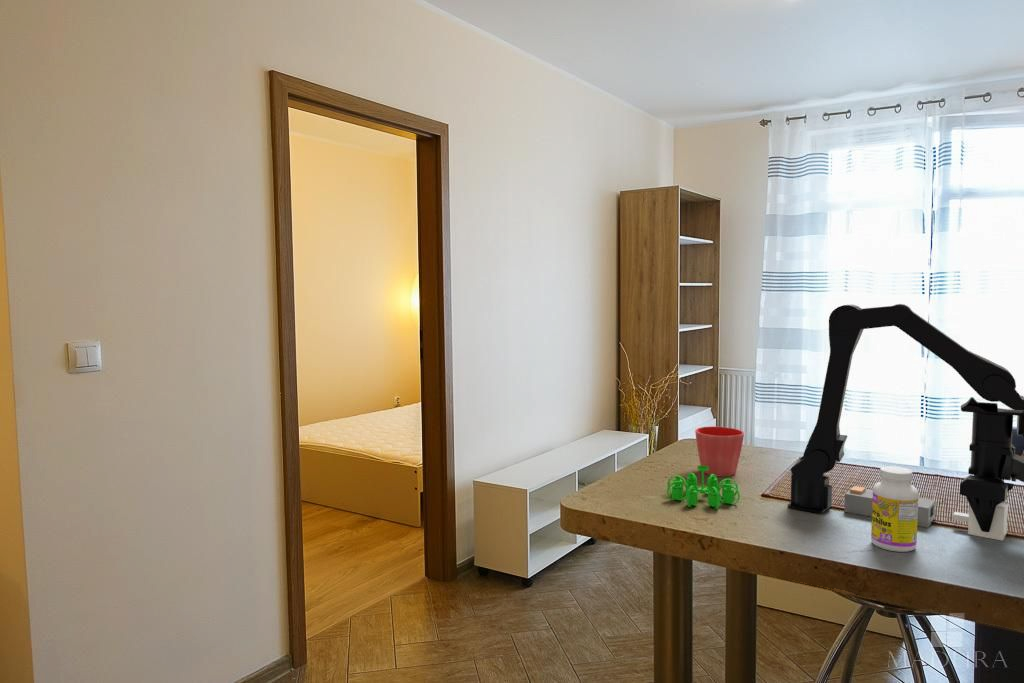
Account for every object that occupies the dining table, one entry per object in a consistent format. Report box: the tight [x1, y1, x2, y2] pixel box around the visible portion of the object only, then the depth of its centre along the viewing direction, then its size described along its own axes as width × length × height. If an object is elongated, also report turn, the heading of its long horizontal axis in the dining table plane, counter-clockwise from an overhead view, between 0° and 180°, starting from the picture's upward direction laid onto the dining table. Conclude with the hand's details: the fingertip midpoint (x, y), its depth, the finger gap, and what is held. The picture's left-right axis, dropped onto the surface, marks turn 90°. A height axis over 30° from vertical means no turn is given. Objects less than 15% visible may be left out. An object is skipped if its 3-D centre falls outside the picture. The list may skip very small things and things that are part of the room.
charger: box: [952, 501, 1009, 541], centre depth 123 cm, size 8×5×6 cm, turn 49°
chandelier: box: [666, 465, 741, 510], centre depth 143 cm, size 15×15×7 cm
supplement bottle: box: [870, 466, 920, 553], centre depth 117 cm, size 7×7×13 cm
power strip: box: [844, 485, 936, 528], centre depth 132 cm, size 14×6×4 cm, turn 49°
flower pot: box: [694, 426, 745, 477], centre depth 164 cm, size 11×11×10 cm
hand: (987, 527), depth 122 cm, fingers closed on charger, 5 cm apart
